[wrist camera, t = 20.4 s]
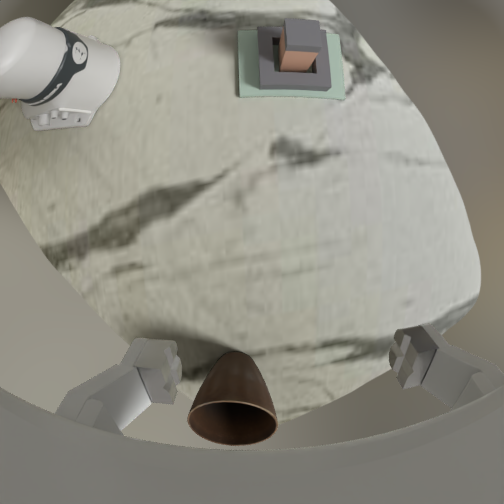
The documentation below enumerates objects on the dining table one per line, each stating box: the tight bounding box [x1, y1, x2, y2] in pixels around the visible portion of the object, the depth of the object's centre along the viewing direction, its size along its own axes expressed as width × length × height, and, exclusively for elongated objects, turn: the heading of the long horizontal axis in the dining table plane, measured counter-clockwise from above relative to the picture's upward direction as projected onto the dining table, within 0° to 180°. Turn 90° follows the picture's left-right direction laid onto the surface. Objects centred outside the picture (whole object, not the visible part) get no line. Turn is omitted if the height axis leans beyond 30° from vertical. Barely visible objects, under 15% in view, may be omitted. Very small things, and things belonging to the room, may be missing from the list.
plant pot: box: [187, 352, 278, 446], centre depth 45 cm, size 15×15×16 cm
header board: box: [238, 27, 345, 100], centre depth 32 cm, size 16×12×4 cm
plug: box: [278, 18, 322, 73], centre depth 28 cm, size 4×4×11 cm
